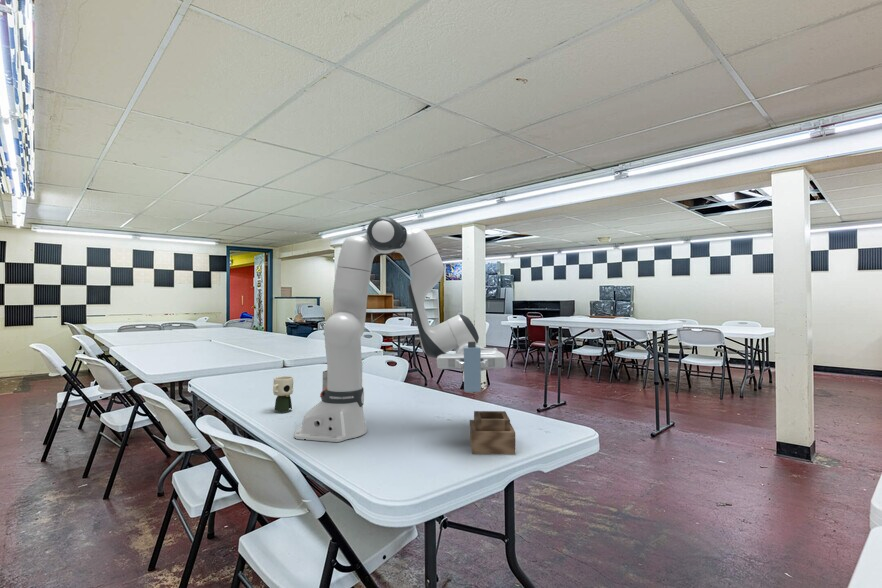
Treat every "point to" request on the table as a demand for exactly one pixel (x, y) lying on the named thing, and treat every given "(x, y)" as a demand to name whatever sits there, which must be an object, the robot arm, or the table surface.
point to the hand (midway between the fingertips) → (472, 365)
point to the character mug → (283, 393)
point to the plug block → (472, 368)
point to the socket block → (491, 433)
